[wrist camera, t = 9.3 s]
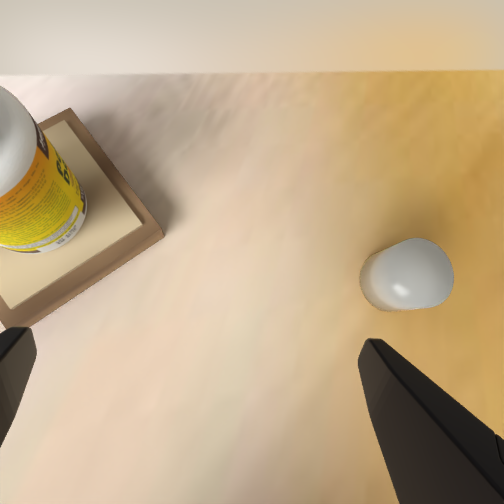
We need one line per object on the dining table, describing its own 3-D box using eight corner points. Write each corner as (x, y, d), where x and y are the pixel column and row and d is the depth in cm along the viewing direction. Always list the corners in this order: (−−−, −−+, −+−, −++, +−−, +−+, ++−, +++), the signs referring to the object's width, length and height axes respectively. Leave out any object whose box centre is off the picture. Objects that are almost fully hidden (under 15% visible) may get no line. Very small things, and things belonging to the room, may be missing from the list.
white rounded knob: (425, 276, 26) (464, 266, 23) (397, 324, 25) (434, 322, 21) (378, 240, 26) (409, 224, 23) (348, 286, 25) (376, 277, 21)
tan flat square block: (164, 237, 24) (161, 227, 22) (23, 330, 21) (4, 330, 19) (79, 125, 25) (68, 104, 22) (-65, 201, 22) (-94, 186, 20)
